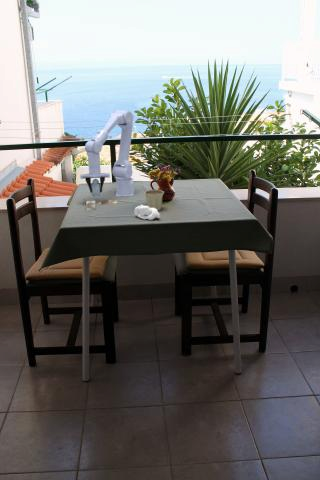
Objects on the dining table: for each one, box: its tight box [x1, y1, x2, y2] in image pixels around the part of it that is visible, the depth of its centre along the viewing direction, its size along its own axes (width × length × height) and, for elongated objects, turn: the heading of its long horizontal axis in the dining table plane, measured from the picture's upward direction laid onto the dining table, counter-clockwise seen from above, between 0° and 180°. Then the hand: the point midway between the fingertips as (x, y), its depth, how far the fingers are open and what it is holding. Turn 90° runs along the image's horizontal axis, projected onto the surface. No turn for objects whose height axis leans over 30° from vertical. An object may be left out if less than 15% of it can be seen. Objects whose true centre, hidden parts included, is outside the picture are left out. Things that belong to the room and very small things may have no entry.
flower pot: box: [144, 189, 165, 212], centre depth 239 cm, size 9×9×9 cm
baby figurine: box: [133, 203, 161, 221], centre depth 227 cm, size 9×12×8 cm
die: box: [85, 200, 96, 211], centre depth 242 cm, size 4×4×4 cm
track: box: [82, 198, 118, 206], centre depth 253 cm, size 17×6×2 cm, turn 96°
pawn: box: [91, 178, 102, 197], centre depth 250 cm, size 4×4×8 cm
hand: (96, 192), depth 251 cm, fingers closed on pawn, 4 cm apart
